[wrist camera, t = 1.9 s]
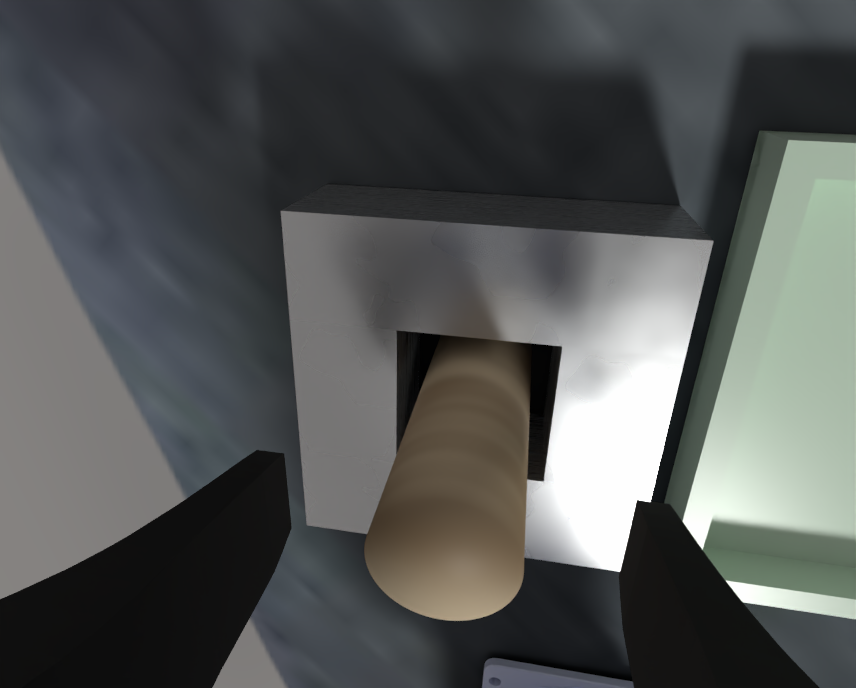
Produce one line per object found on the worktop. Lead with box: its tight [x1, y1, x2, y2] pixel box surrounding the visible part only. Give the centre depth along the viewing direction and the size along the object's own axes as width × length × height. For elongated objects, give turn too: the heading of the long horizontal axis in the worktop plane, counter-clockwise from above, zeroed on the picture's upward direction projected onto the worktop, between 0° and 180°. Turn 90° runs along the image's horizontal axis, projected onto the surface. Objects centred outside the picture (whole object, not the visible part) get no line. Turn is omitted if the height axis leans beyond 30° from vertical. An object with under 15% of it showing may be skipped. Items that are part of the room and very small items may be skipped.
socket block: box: [281, 184, 713, 572], centre depth 17 cm, size 10×10×4 cm
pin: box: [364, 335, 532, 621], centre depth 15 cm, size 3×3×9 cm
